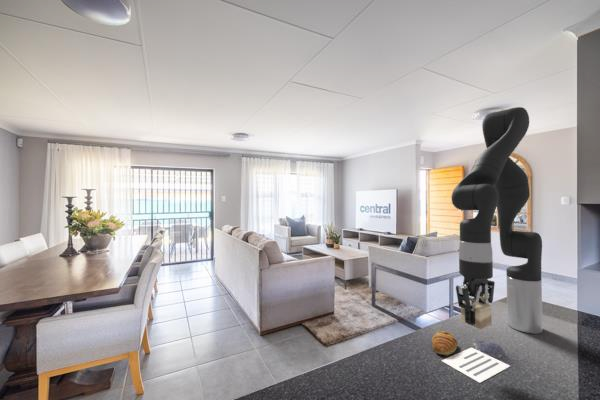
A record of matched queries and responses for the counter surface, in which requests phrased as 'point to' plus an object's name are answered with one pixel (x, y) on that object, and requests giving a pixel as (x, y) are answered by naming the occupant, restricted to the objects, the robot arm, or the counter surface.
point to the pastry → (444, 343)
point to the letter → (475, 364)
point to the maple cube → (479, 315)
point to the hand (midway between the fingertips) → (476, 321)
